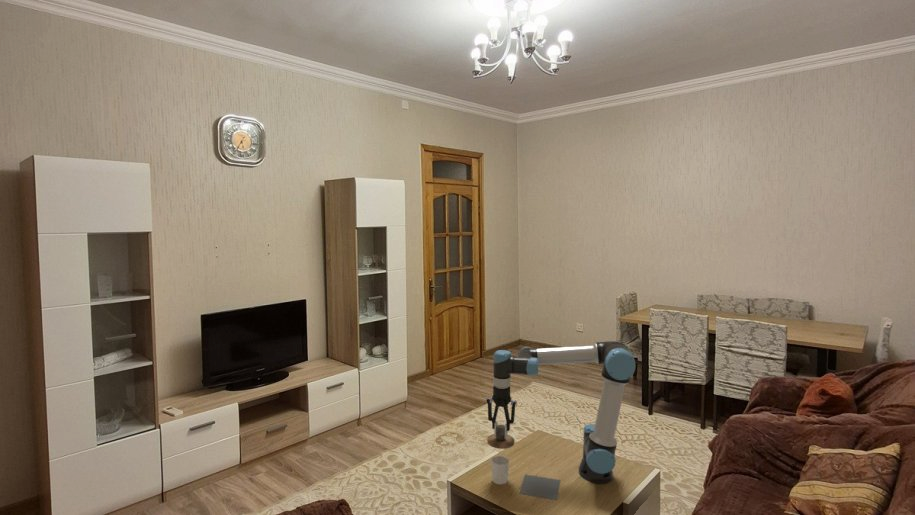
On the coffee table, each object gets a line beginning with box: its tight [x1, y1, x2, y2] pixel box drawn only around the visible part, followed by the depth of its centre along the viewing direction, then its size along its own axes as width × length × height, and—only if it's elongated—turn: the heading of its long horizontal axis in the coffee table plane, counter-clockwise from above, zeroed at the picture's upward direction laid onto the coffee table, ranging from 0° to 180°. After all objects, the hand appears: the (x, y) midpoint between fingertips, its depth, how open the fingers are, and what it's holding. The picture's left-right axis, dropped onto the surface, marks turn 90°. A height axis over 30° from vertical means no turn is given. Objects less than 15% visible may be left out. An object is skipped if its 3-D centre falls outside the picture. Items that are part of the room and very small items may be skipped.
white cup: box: [491, 455, 510, 485], centre depth 220 cm, size 8×8×10 cm
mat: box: [518, 474, 561, 501], centre depth 216 cm, size 16×16×1 cm
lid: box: [486, 424, 515, 450], centre depth 219 cm, size 12×12×7 cm
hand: (500, 436), depth 219 cm, fingers closed on lid, 4 cm apart
